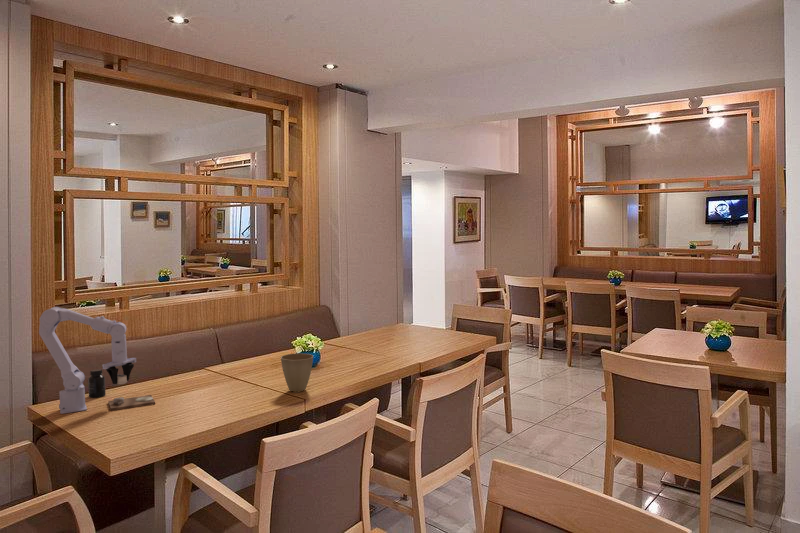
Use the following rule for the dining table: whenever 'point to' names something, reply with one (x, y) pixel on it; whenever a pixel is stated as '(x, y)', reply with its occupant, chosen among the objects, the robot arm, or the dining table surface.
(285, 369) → the plant pot
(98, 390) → the supplement bottle
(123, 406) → the base
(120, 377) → the knob
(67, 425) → the dining table surface
